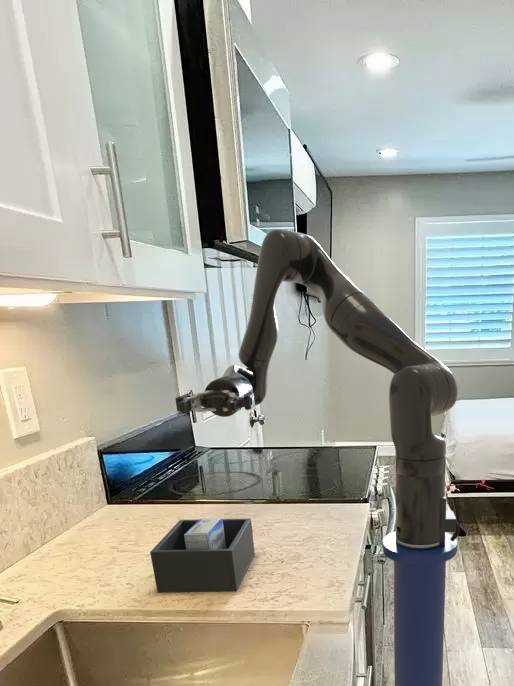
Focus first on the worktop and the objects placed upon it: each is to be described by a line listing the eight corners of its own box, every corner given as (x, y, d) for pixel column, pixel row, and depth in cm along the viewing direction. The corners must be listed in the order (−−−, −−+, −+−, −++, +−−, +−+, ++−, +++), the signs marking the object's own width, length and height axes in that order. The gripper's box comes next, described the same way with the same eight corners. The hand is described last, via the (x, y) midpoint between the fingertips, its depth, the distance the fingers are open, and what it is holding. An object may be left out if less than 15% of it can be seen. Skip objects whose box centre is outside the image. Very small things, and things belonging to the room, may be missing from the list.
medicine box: (215, 579, 100) (208, 533, 97) (190, 579, 100) (183, 533, 97) (228, 560, 107) (223, 517, 104) (205, 560, 108) (199, 517, 104)
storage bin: (254, 554, 111) (250, 518, 108) (236, 591, 97) (231, 550, 94) (185, 556, 111) (180, 519, 109) (157, 593, 97) (149, 552, 94)
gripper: (191, 377, 118) (164, 387, 103) (259, 375, 117) (242, 385, 102) (196, 414, 120) (170, 429, 105) (263, 412, 120) (247, 427, 105)
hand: (206, 407), depth 104 cm, fingers open, 8 cm apart
